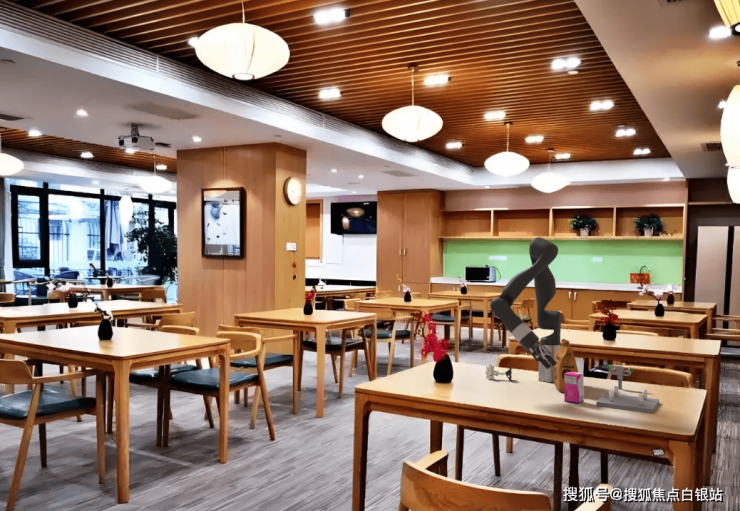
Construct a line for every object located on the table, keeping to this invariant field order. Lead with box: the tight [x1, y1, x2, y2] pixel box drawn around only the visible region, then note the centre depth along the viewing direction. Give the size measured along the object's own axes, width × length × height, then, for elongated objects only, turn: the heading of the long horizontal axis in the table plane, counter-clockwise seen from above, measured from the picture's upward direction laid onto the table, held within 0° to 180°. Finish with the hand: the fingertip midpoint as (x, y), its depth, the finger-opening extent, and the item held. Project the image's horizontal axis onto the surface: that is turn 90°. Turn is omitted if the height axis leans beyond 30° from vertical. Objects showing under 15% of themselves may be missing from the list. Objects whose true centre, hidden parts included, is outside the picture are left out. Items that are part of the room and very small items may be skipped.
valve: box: [485, 364, 513, 381], centre depth 282 cm, size 7×7×12 cm
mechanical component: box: [607, 364, 634, 390], centre depth 264 cm, size 3×10×10 cm, turn 53°
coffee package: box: [554, 338, 579, 393], centre depth 259 cm, size 10×12×22 cm
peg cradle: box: [595, 385, 660, 414], centre depth 235 cm, size 20×20×6 cm
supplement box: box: [563, 372, 585, 405], centre depth 238 cm, size 6×6×12 cm
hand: (552, 366), depth 243 cm, fingers open, 8 cm apart
